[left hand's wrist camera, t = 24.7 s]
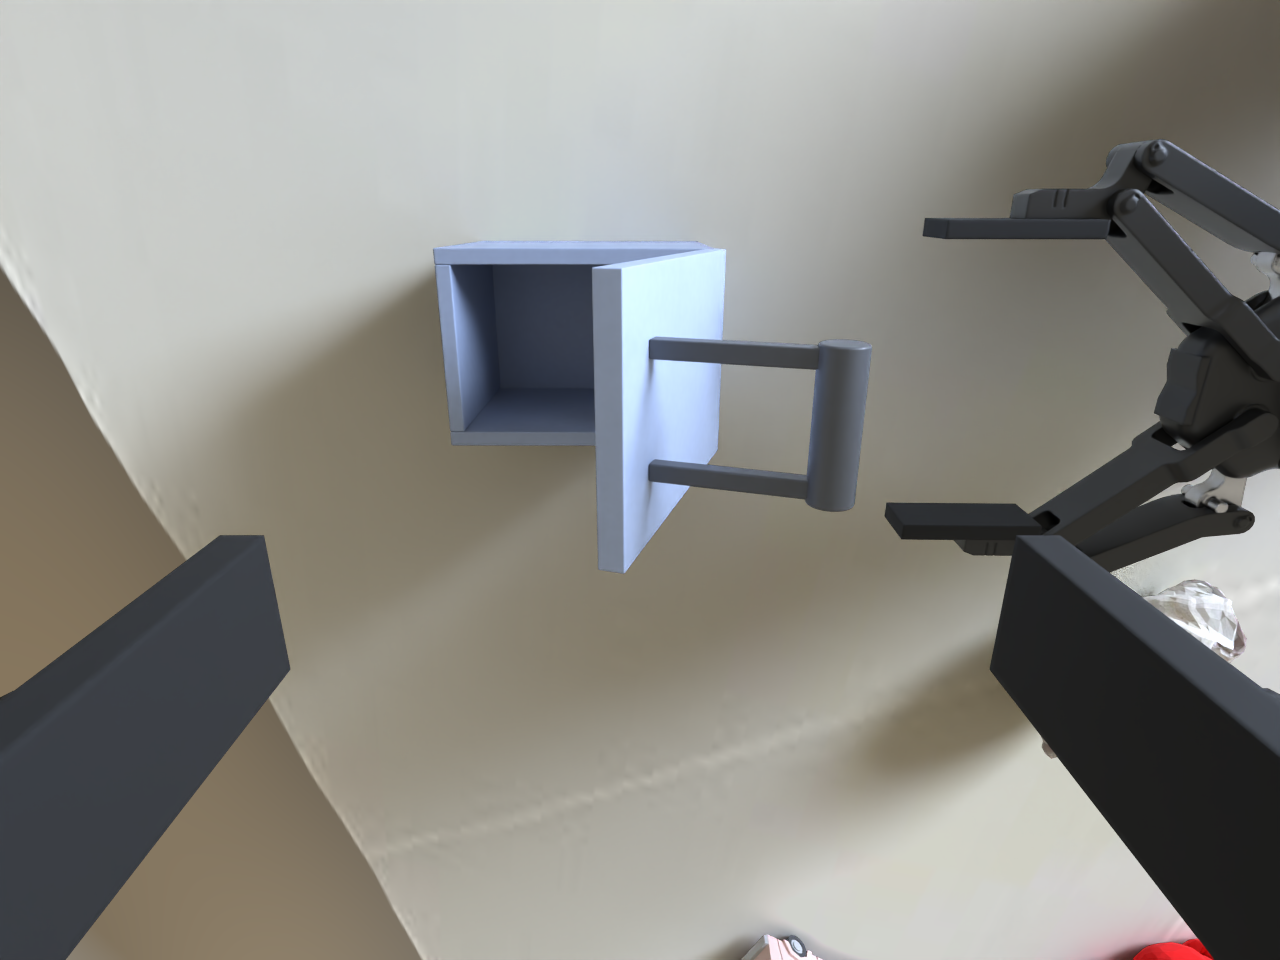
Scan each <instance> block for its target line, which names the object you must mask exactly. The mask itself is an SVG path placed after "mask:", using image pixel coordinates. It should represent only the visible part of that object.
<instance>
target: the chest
mask: <svg viewBox="0 0 1280 960" xmlns="http://www.w3.org/2000/svg"><path fill="white" fill-rule="evenodd" d="M703 249H714V248H711V247H709V246H706V245H704V244H702V243H699V242H697V241H480V242H473V243H466V244H459V245H452V246H445V247H438V248H433V253H434V263H435V264H436V265H435V273H436V284H437V295H438V305H439V316H440V327H441V337H442V348H443V359H444V369H445V380H446V391H447V401H448V412H449V423H450V431H451V444H452V445H573V446H596V441H595V394H594V346H593V299H592V268H593V267H599V266H605V265H611V264H618V263H624V262H630V261H636V260H642V259H648V258H654V257H660V256H666V255H672V254H679V253H685V252H691V251H697V250H703Z"/></svg>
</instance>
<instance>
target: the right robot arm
mask: <svg viewBox="0 0 1280 960" xmlns="http://www.w3.org/2000/svg"><path fill="white" fill-rule="evenodd" d="M1106 166H1107V169H1106V171H1105V173H1104V175H1103V176H1102V178H1101V179H1100V181H1098V182H1097V183H1096V184H1095V185H1094V186H1092V187H1090V188H1087V189H1026V190H1024V191H1021V192H1019V193H1016V194H1014V196H1013V202H1012V208H1011V213H1010V218H925V223H924V230H923V236H926V237H934V238H942V239H1105V240H1106V241H1107V242H1108V243H1109V244H1110V245H1111V246H1112V247H1113V249H1114V250H1115V251H1116V252H1117V253H1118V254H1119V255H1120V256H1121V257H1122V258H1123V260H1124V261H1125V262H1126V263H1127V264H1128V265H1129V266H1130V267H1131V268H1132V269H1133V271H1134V272H1135V273H1136V274H1137V275H1138V276H1139V277H1140V278H1141V279H1142V281H1143V282H1144V283H1145V284H1146V285H1147V286H1148V287H1149V288H1150V289H1151V290H1152V292H1153V293H1154V294H1155V295H1156V296H1157V297H1158V298H1159V299H1160V300H1161V301H1162V303H1163V304H1164V305H1165V306H1166V307H1167V308H1168V310H1167V311H1166V312H1167V314H1168V315H1169V317H1170V318H1171V319H1172V320H1173V321H1174V322H1175V323H1176V324H1177V325H1178V327H1179V328H1180V329H1181V330H1182V331H1183V332H1184V333H1185V334H1186V335H1187V337H1186V338H1185V339H1184V340H1183V341H1182V342H1181V344H1180V345H1179V347H1178V349H1176V348H1171V352H1170V355H1169V359H1168V363H1167V382H1166V384H1165V386H1164V388H1163V390H1162V391H1161V393H1160V395H1159V397H1158V400H1157V403H1156V407H1155V411H1154V414H1157V415H1159V417H1160V422H1158V423H1156V424H1155V425H1153V426H1152V427H1150V428H1149V429H1147V430H1146V431H1144V432H1143V433H1141V434H1140V435H1138V436H1137V437H1135V438H1134V439H1133V441H1132V446H1131V447H1130V448H1129V449H1128V450H1126V451H1125V452H1123V453H1122V454H1120V455H1119V456H1117V457H1116V458H1114V459H1113V460H1111V461H1109V462H1108V463H1106V464H1105V465H1103V466H1102V467H1100V468H1099V469H1097V470H1096V471H1094V472H1093V473H1091V474H1089V475H1088V476H1086V477H1085V478H1083V479H1082V480H1080V481H1079V482H1077V483H1076V484H1074V485H1073V486H1071V487H1070V488H1068V489H1066V490H1065V491H1063V492H1062V493H1060V494H1059V495H1057V496H1056V497H1054V498H1053V499H1051V500H1050V501H1048V502H1046V503H1045V504H1043V505H1042V506H1040V507H1039V508H1037V509H1036V510H1034V511H1033V512H1031V513H1030V514H1027V513H1026V512H1025V511H1023V510H1022V509H1021V508H1020V507H1019V506H1018V505H1016V504H985V503H886V510H885V517H886V519H887V520H888V522H889V523H890V524H891V526H892V527H893V528H894V530H895V531H896V532H897V534H898V535H899V537H900V538H901V539H917V540H954V541H955V542H956V543H957V544H958V546H959V547H960V548H961V549H962V550H963V551H964V552H966V553H969V554H971V555H995V556H1012V554H1013V549H1014V544H1015V539H1016V535H1060V536H1062V537H1063V538H1064V539H1065V540H1067V541H1068V542H1069V543H1071V544H1072V545H1073V546H1075V547H1076V548H1077V549H1079V550H1080V551H1081V552H1083V553H1084V554H1085V555H1087V556H1088V557H1089V558H1091V559H1092V560H1093V561H1095V562H1096V563H1097V564H1099V565H1100V566H1101V567H1103V568H1104V569H1105V570H1107V571H1108V572H1109V573H1110V572H1112V571H1115V570H1117V569H1120V568H1123V567H1125V566H1128V565H1131V564H1133V563H1136V562H1138V561H1141V560H1144V559H1146V558H1149V557H1152V556H1154V555H1157V554H1159V553H1162V552H1165V551H1167V550H1170V549H1172V548H1175V547H1178V546H1180V545H1183V544H1186V543H1188V542H1191V541H1193V540H1196V539H1199V538H1201V537H1209V536H1220V535H1231V534H1240V533H1244V532H1246V531H1248V530H1249V529H1250V528H1251V527H1252V526H1253V524H1254V522H1255V516H1254V515H1253V513H1251V512H1249V511H1248V510H1246V509H1244V508H1242V507H1241V504H1242V499H1243V494H1244V489H1245V485H1246V480H1247V478H1248V477H1251V476H1253V475H1256V474H1258V473H1260V472H1263V471H1266V470H1270V469H1280V210H1279V209H1277V208H1275V207H1274V206H1272V205H1271V204H1269V203H1267V202H1266V201H1264V200H1263V199H1261V198H1259V197H1258V196H1256V195H1255V194H1253V193H1251V192H1250V191H1248V190H1247V189H1245V188H1243V187H1242V186H1240V185H1239V184H1237V183H1235V182H1234V181H1232V180H1231V179H1229V178H1227V177H1226V176H1224V175H1223V174H1221V173H1219V172H1218V171H1216V170H1214V169H1213V168H1211V167H1210V166H1208V165H1206V164H1205V163H1203V162H1202V161H1200V160H1198V159H1197V158H1195V157H1194V156H1192V155H1190V154H1189V153H1187V152H1186V151H1184V150H1182V149H1181V148H1179V147H1178V146H1176V145H1174V144H1173V143H1171V142H1170V141H1168V140H1165V139H1158V140H1148V141H1140V142H1132V143H1126V144H1119V145H1117V146H1116V147H1114V148H1113V149H1112V150H1111V151H1110V152H1109V154H1108V156H1107V159H1106ZM1144 193H1145V194H1147V195H1148V196H1150V197H1152V198H1153V199H1155V200H1157V201H1158V202H1160V203H1161V204H1163V205H1165V206H1166V207H1168V208H1170V209H1171V210H1173V211H1175V212H1176V213H1178V214H1180V215H1181V216H1183V217H1185V218H1186V219H1188V220H1189V221H1191V222H1193V223H1194V224H1196V225H1198V226H1199V227H1201V228H1203V229H1204V230H1206V231H1208V232H1209V233H1211V234H1213V235H1214V236H1216V237H1217V238H1219V239H1221V240H1222V241H1224V242H1226V243H1227V244H1229V245H1231V246H1233V247H1235V248H1238V249H1241V250H1244V251H1249V252H1254V254H1253V255H1252V256H1251V263H1252V264H1253V265H1256V267H1257V269H1258V270H1259V271H1260V272H1262V273H1264V274H1266V275H1267V276H1268V277H1269V280H1270V287H1269V290H1267V291H1263V292H1260V293H1258V294H1256V295H1254V296H1252V297H1251V298H1249V299H1247V300H1246V301H1243V300H1241V299H1239V298H1237V297H1235V296H1233V295H1232V294H1231V293H1230V292H1229V291H1228V290H1227V289H1226V288H1225V287H1224V286H1223V285H1222V283H1221V282H1220V281H1219V280H1218V279H1217V278H1216V277H1215V275H1214V274H1213V273H1212V272H1211V271H1210V270H1209V269H1208V267H1207V266H1206V265H1205V264H1204V263H1203V262H1202V260H1201V259H1200V258H1199V257H1198V256H1197V255H1196V254H1195V252H1194V251H1193V250H1192V249H1191V248H1190V247H1189V246H1188V244H1187V243H1186V242H1185V241H1184V240H1183V239H1182V238H1181V236H1180V235H1179V234H1178V233H1177V232H1176V231H1175V230H1174V228H1173V227H1172V226H1171V225H1170V224H1169V223H1168V222H1167V220H1166V219H1165V218H1164V217H1163V216H1162V215H1161V214H1160V212H1159V211H1158V210H1157V209H1156V208H1155V207H1154V206H1153V204H1152V203H1151V202H1150V201H1149V200H1148V199H1147V198H1146V196H1145V195H1144ZM1176 443H1179V444H1180V445H1182V446H1183V447H1184V448H1185V449H1186V450H1182V451H1180V450H1177V449H1174V448H1172V447H1171V446H1173V445H1174V444H1176ZM1211 469H1212V472H1211V475H1210V476H1209V478H1208V479H1207V480H1206V481H1204V482H1202V483H1200V484H1197V485H1194V486H1193V485H1190V484H1189V485H1185V486H1184V487H1183V488H1182V490H1181V493H1182V494H1176V495H1171V496H1167V497H1163V498H1160V499H1157V500H1154V501H1151V502H1149V503H1146V504H1144V505H1141V504H1143V503H1144V502H1146V501H1148V500H1149V499H1151V498H1152V497H1154V496H1155V495H1157V494H1159V493H1160V492H1162V491H1163V490H1165V489H1167V488H1168V487H1170V486H1171V485H1173V484H1175V483H1178V482H1189V481H1192V480H1195V479H1197V478H1198V477H1200V476H1201V475H1203V474H1205V473H1206V472H1208V471H1209V470H1211ZM1140 505H1141V506H1140ZM1138 506H1139V507H1138Z"/></svg>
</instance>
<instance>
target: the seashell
mask: <svg viewBox="0 0 1280 960" xmlns="http://www.w3.org/2000/svg"><path fill="white" fill-rule="evenodd" d="M1142 598H1144V599H1145V600H1146V601H1148V602H1149V603H1150V604H1152V605H1153V606H1154V607H1156V608H1157V609H1158V610H1159V611H1161V612H1162V613H1163V614H1165V615H1166V616H1167V617H1169V618H1170V619H1171V620H1173V621H1174V622H1175V623H1177V624H1178V625H1179V626H1181V627H1182V628H1183V629H1185V630H1186V631H1187V632H1189V633H1190V634H1191V635H1193V636H1194V637H1195V638H1197V639H1198V640H1199V641H1201V642H1202V643H1203V644H1204V645H1206V646H1207V647H1208V648H1210V649H1211V650H1212V651H1214V652H1215V653H1216V654H1218V655H1219V656H1220V657H1222V658H1223V659H1224V660H1226V661H1227V662H1228V663H1231V662H1232V661H1233V660H1234V659H1236V658H1237V657H1239V656H1240V655H1241V654H1242V653H1243V652H1244V650H1245V647H1246V640H1247V638H1246V637H1245V635H1244V633H1243V631H1242V629H1241V627H1240V624H1239V622H1238V620H1237V618H1236V616H1235V614H1234V612H1233V609H1232V607H1231V604H1232V601H1231V600H1229V599H1226V597H1225V596H1224V594H1223V593H1222V592H1221V591H1220V590H1219V589H1218V588H1217V587H1213V586H1211V585H1210V584H1209V583H1207V582H1205V581H1200V580H1188V581H1183V582H1181V583H1180V584H1178V585H1176V586H1174V587H1171V588H1168V589H1166V590H1164V591H1163V592H1161V593H1159V594H1157V595H1154V596H1147V597H1142ZM1041 737H1042V736H1041ZM1042 739H1043V738H1042ZM1042 748H1043V750H1044V752H1045V754H1047V755H1048V756H1049V757H1050V758H1055V757H1057V756H1056V754H1055V753H1054V752H1053V751H1052V749H1051V748H1050V747H1049V745H1048V744H1047V743H1046V742H1045V740H1044V739H1043V744H1042Z"/></svg>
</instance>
